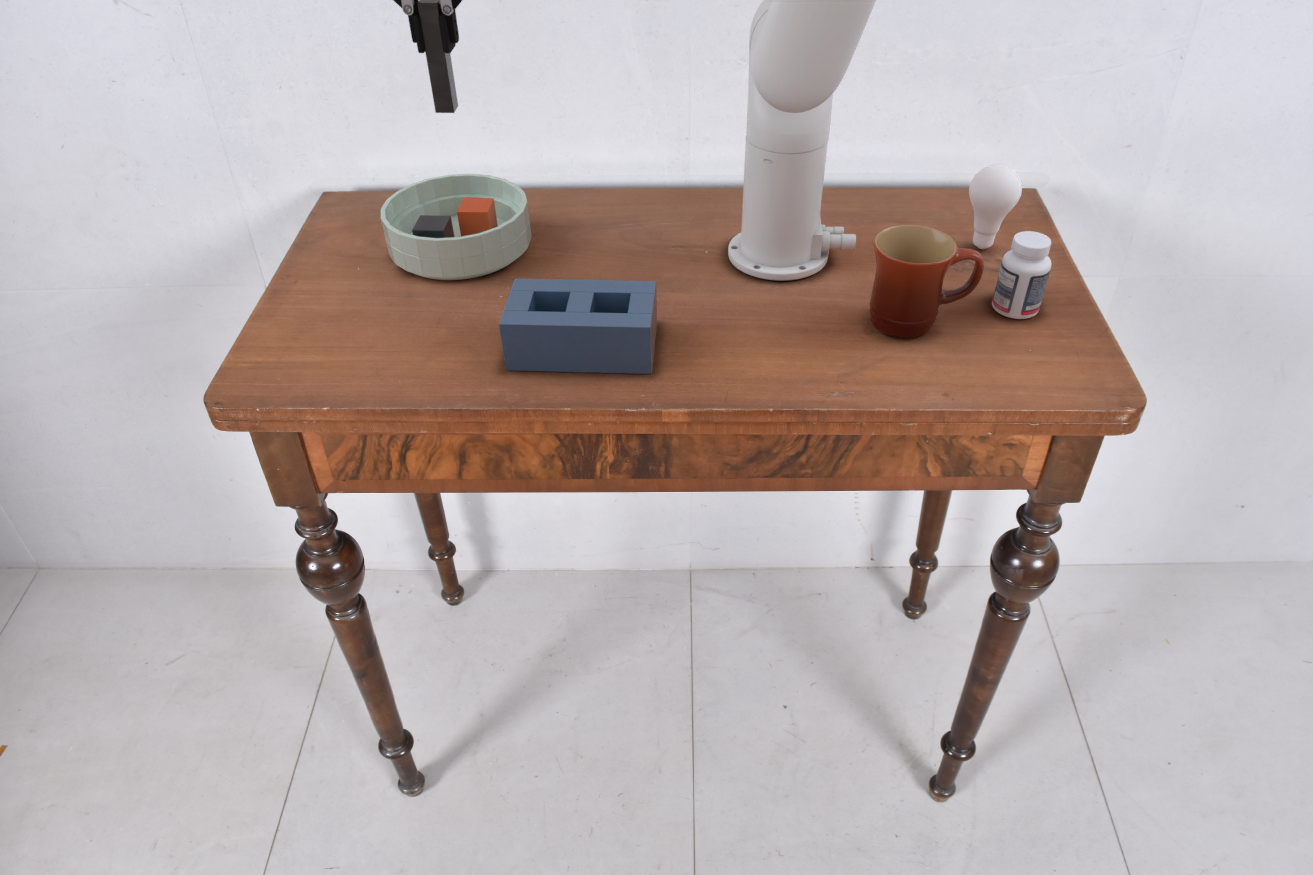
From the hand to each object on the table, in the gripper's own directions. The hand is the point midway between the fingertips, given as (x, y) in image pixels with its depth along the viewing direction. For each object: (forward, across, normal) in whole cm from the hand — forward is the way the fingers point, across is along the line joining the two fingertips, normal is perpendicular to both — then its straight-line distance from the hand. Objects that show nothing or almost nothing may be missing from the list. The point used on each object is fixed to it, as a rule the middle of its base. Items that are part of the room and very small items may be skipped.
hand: (437, 48), depth 104 cm
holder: (+25, +18, -22) cm, 38 cm away
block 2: (+25, +1, +3) cm, 25 cm away
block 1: (+25, -4, -2) cm, 25 cm away
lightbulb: (+25, +66, +2) cm, 71 cm away
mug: (+25, +55, -16) cm, 62 cm away
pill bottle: (+25, +67, -12) cm, 72 cm away
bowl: (+25, -1, 0) cm, 25 cm away
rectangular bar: (+7, 0, 0) cm, 7 cm away
